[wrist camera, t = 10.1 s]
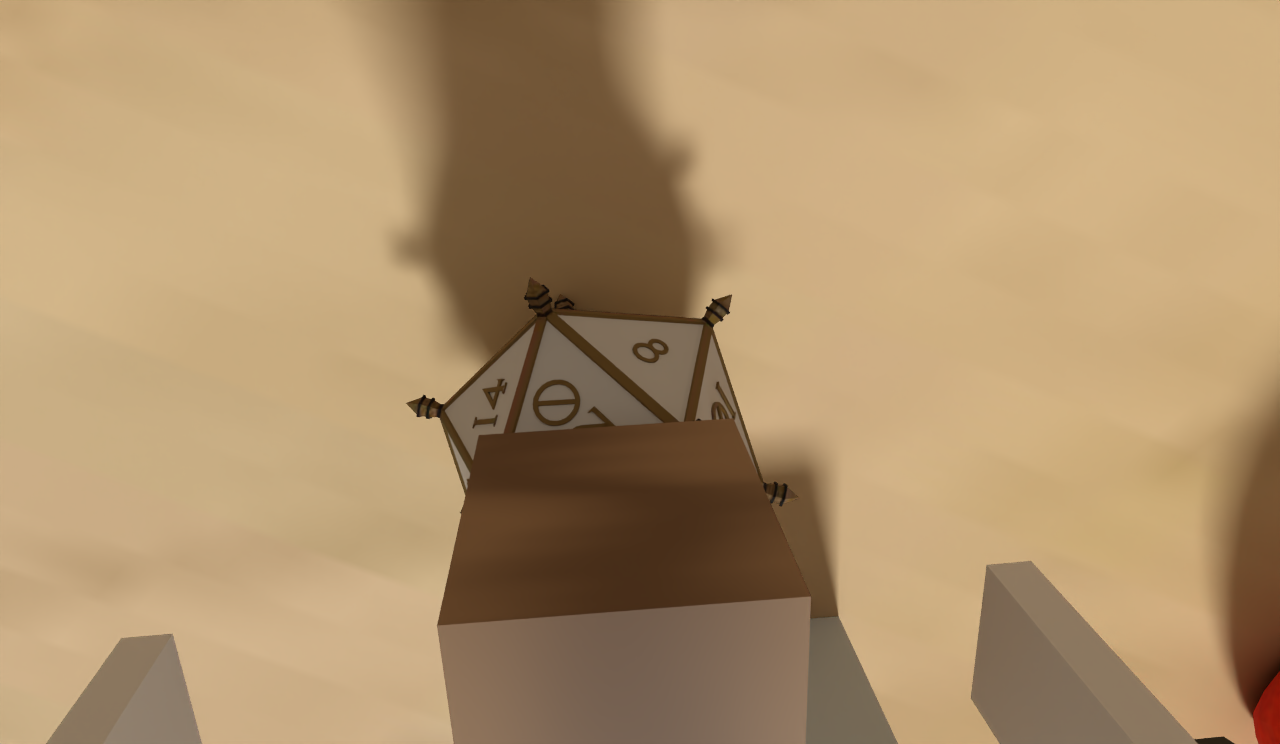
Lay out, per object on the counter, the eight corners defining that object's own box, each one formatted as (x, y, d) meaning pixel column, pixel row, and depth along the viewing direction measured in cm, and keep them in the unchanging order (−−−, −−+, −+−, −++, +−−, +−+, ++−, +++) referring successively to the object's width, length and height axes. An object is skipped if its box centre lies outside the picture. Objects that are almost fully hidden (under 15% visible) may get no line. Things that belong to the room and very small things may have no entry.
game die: (532, 361, 29) (264, 433, 21) (713, 193, 25) (462, 200, 16) (683, 597, 28) (458, 777, 19) (905, 465, 23) (735, 625, 15)
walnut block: (502, 646, 19) (476, 900, 14) (478, 434, 17) (437, 625, 12) (732, 628, 19) (800, 868, 14) (733, 418, 18) (811, 596, 12)
